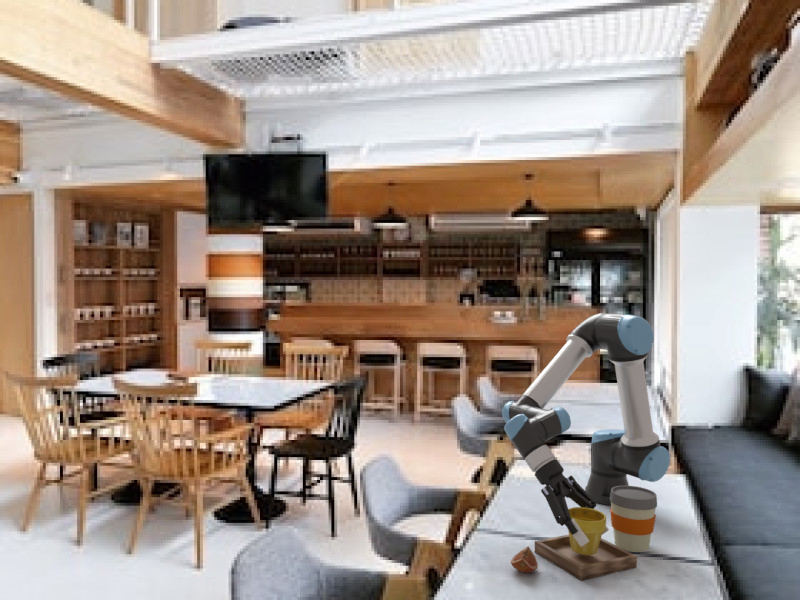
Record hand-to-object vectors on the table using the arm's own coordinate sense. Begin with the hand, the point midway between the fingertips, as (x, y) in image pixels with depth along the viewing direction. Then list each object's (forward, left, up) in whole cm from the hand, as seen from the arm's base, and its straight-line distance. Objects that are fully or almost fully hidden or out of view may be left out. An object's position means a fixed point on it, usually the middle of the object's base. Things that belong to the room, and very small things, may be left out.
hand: (595, 538), depth 171 cm
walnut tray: (+1, -3, -7) cm, 7 cm away
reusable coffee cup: (-18, -5, -7) cm, 20 cm away
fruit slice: (+20, -4, -7) cm, 21 cm away
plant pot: (+1, -3, -4) cm, 5 cm away
